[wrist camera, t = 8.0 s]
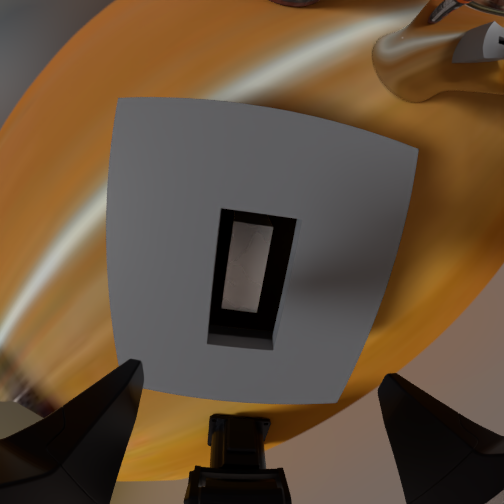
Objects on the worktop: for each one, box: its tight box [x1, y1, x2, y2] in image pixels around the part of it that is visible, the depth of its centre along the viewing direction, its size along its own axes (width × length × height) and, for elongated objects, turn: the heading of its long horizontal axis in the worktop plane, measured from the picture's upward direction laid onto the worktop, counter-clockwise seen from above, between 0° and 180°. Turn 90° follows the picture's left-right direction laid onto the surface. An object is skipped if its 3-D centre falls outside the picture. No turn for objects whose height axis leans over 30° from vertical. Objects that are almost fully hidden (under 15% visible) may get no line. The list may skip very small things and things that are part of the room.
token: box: [222, 210, 273, 313], centre depth 17 cm, size 5×2×5 cm, turn 171°
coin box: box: [106, 97, 419, 404], centre depth 16 cm, size 16×14×7 cm
